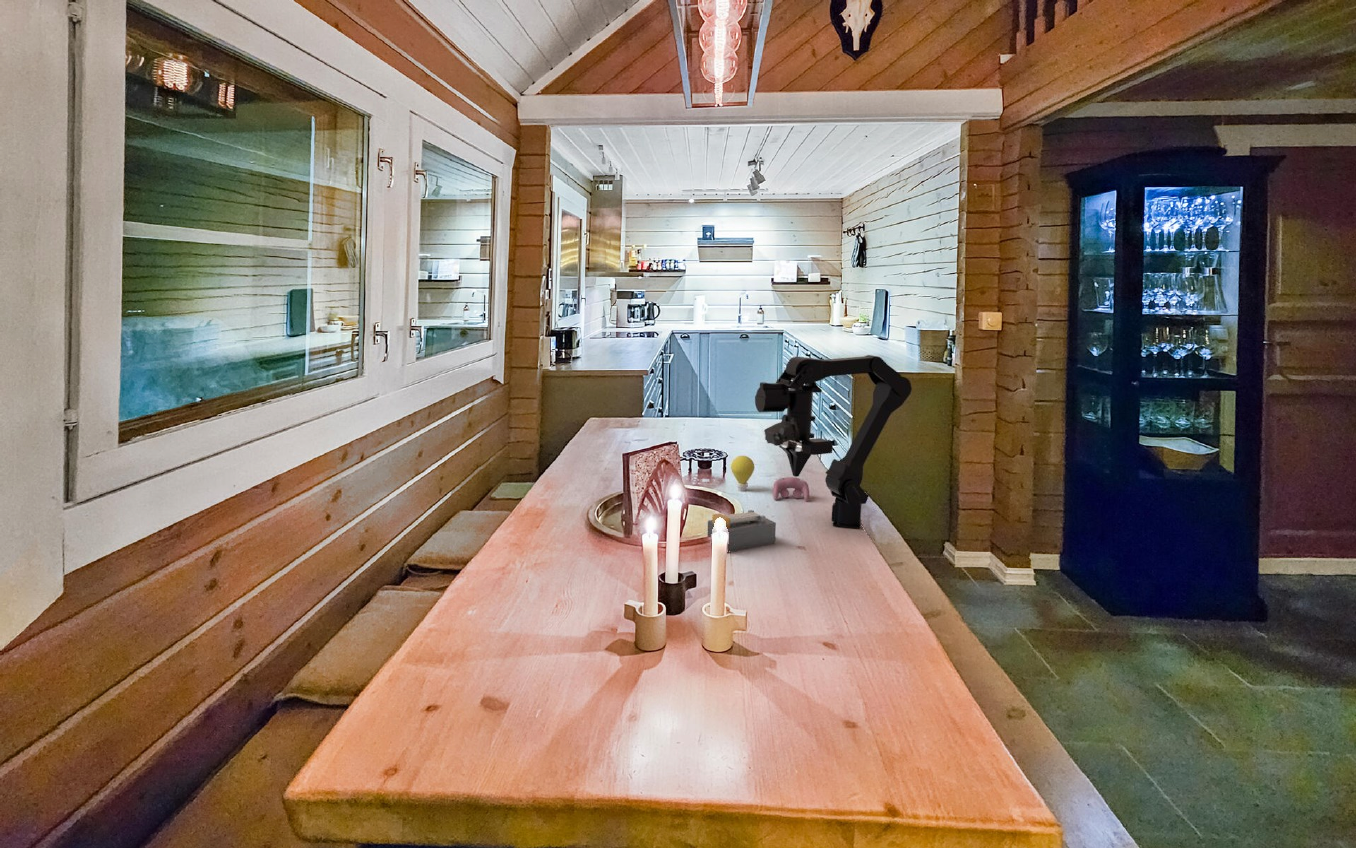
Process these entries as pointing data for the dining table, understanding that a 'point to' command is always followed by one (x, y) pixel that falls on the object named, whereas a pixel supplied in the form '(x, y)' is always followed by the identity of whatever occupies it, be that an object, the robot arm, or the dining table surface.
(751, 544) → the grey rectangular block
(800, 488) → the pink curved piece
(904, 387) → the robot arm
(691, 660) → the dining table surface
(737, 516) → the light grey flat bar
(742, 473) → the light bulb
